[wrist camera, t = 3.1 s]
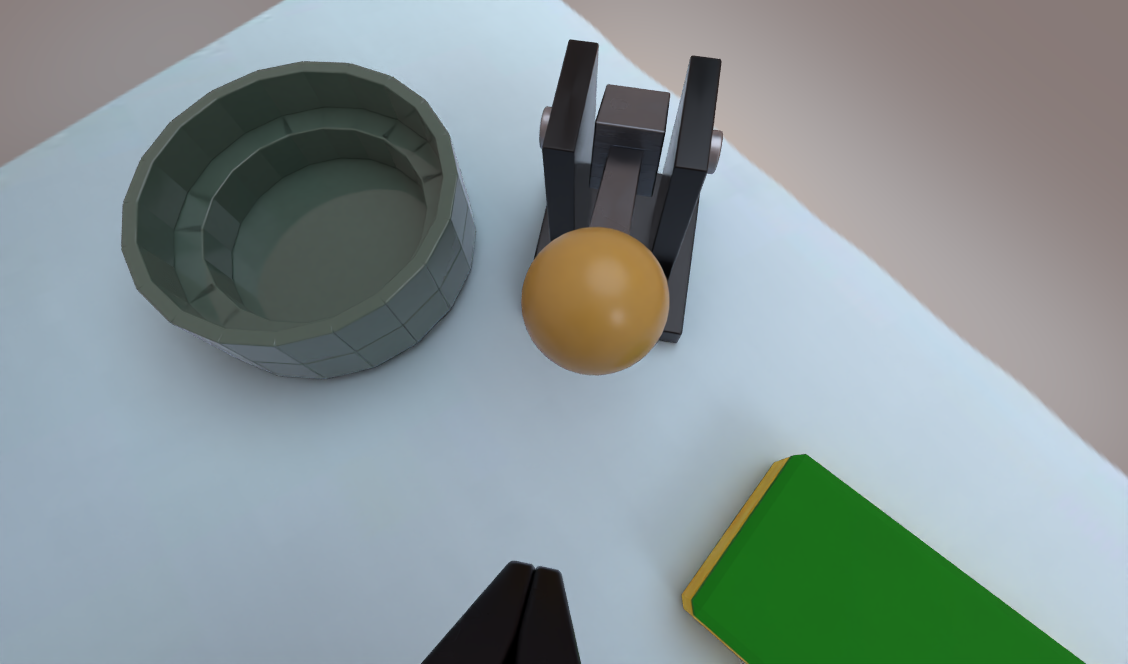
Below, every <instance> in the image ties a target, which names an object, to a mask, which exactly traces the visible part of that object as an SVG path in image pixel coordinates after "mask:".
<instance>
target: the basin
mask: <svg viewBox="0 0 1128 664" xmlns="http://www.w3.org/2000/svg"><path fill="white" fill-rule="evenodd" d="M123 203H124V204H123V211H122V239H121V247H122V248H121V250H122V252H123V255H124V257H125V260H126V263H127V265H128V268H129V271H130V273H131V276H132V278H133V281H134V284H135V286H136V289H137V290H138V291H139V292H140V293H141V294H142V295H143V296H144V297H145V298H146V299H147V300H148V301H149V302H150V303H151V304H152V305H153V306H154V307H155V308H156V309H157V310H158V311H159V312H160V313H161V314H162V315H163V316H164V317H165V318H166V319H167V320H168V321H169V322H170V323H171V324H173V325H174V326H176V327H178V328H180V329H182V330H184V331H186V332H188V333H190V334H192V335H193V336H195V337H197V338H199V339H201V340H203V341H205V342H207V343H209V344H211V345H212V346H214V347H216V348H218V349H220V350H222V351H224V352H226V353H228V354H229V355H231V356H233V357H235V358H237V359H239V360H241V361H244V362H246V363H248V364H251V365H253V366H256V367H258V368H260V369H263V370H265V371H267V372H270V373H272V374H275V375H279V376H286V377H302V378H318V379H325V378H326V379H329V378H333V377H337V376H341V375H345V374H349V373H354V372H358V371H362V370H366V369H370V368H373V367H377V366H378V365H380V364H382V363H384V362H385V361H387V360H389V359H391V358H393V357H394V356H396V355H398V354H400V353H401V352H403V351H405V350H407V349H408V348H410V347H412V346H414V345H415V344H417V342H419V341H420V340H421V339H422V338H423V337H424V336H425V335H426V334H427V333H428V332H429V331H430V330H431V329H432V328H433V327H434V326H435V325H436V323H437V322H438V321H439V320H440V319H441V318H442V317H443V316H444V315H445V314H446V313H447V312H448V311H449V310H450V309H451V308H452V306H453V304H454V302H455V300H456V298H457V296H458V294H459V292H460V290H461V288H462V286H463V284H464V282H465V280H466V278H467V276H468V274H469V272H470V270H471V264H472V257H473V250H474V243H475V236H476V227H475V223H474V218H473V214H472V209H471V205H470V200H469V196H468V192H467V189H466V186H465V183H464V180H463V176H462V173H461V170H460V167H459V163H458V160H457V157H456V154H455V151H454V147H453V144H452V141H451V138H450V135H449V133H448V131H447V130H446V129H445V127H444V126H443V124H442V123H441V121H440V120H439V118H438V117H437V115H436V114H435V112H434V111H433V110H432V108H431V107H430V105H429V104H428V102H427V101H426V100H425V99H424V98H422V97H421V96H419V95H418V94H417V93H415V92H414V91H412V90H411V89H409V88H408V87H407V86H405V85H404V84H402V83H401V82H399V81H398V80H397V79H395V78H394V77H391V76H390V75H386V74H383V73H380V72H377V71H374V70H371V69H367V68H364V67H361V66H358V65H355V64H350V63H336V62H310V61H305V62H303V61H302V62H297V63H292V64H287V65H282V66H277V67H272V68H267V69H262V70H257V71H255V72H252V73H250V74H248V75H246V76H243V77H241V78H239V79H237V80H234V81H232V82H230V83H228V84H225V85H223V86H221V87H219V88H217V89H214V90H212V91H211V92H209V93H208V94H206V95H205V96H204V97H202V98H201V99H200V100H198V101H197V102H196V103H194V104H193V105H192V106H190V107H189V108H188V109H186V110H185V111H184V112H183V113H181V114H180V115H179V116H177V117H176V118H175V119H173V120H172V122H170V123H169V124H168V125H167V126H166V128H165V129H164V130H163V132H162V133H161V134H160V135H159V137H158V138H157V139H156V140H155V142H154V143H153V144H152V145H151V147H150V148H149V149H148V150H147V152H146V153H145V154H144V155H143V157H142V158H141V160H140V162H139V164H138V167H137V169H136V172H135V174H134V177H133V179H132V182H131V184H130V186H129V189H128V191H127V194H126V196H125V199H124V201H123Z"/></svg>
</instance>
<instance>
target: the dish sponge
mask: <svg viewBox="0 0 1128 664" xmlns="http://www.w3.org/2000/svg"><path fill="white" fill-rule="evenodd" d="M682 601H683V608H684V610H686V611H687V612H688V613H689V614H690V615H691V616H692V617H694V618H695V619H696V620H697V621H698V622H699V623H700V624H702V625H703V626H704V627H705V628H706V629H707V630H708V631H710V632H711V633H712V634H713V635H714V636H715V637H716V638H717V639H719V640H720V641H721V642H722V643H723V644H724V645H725V646H727V647H728V648H729V649H730V650H731V651H732V652H733V653H735V654H736V655H737V656H738V657H739V658H740V659H741V660H743V661H744V662H745V663H746V664H1086V663H1084V662H1083V661H1082V660H1080V659H1079V658H1078V657H1076V656H1075V655H1074V654H1072V653H1071V652H1070V651H1068V650H1067V649H1066V648H1064V647H1063V646H1062V645H1060V644H1059V643H1058V642H1056V641H1055V640H1054V639H1052V638H1051V637H1050V636H1048V635H1047V634H1046V633H1044V632H1043V631H1041V630H1040V629H1039V628H1037V627H1036V626H1035V625H1033V624H1032V623H1031V622H1029V621H1028V620H1027V619H1025V618H1024V617H1023V616H1021V615H1020V614H1019V613H1017V612H1016V611H1015V610H1013V609H1012V608H1011V607H1009V606H1008V605H1007V604H1005V603H1004V602H1003V601H1001V600H1000V599H999V598H997V597H996V596H995V595H993V594H992V593H991V592H989V591H988V590H987V589H985V588H984V587H983V586H981V585H980V584H979V583H977V582H976V581H975V580H973V579H972V578H971V577H969V576H968V575H967V574H965V573H964V572H963V571H961V570H960V569H959V568H957V567H956V566H955V565H953V564H952V563H951V562H949V561H948V560H947V559H945V558H944V557H943V556H941V555H940V554H939V553H937V552H936V551H935V550H933V549H932V548H931V547H929V546H928V545H927V544H925V543H924V542H923V541H921V540H920V539H919V538H917V537H916V536H915V535H913V534H912V533H911V532H909V531H908V530H907V529H905V528H904V527H903V526H901V525H900V524H899V523H897V522H896V521H895V520H893V519H892V518H891V517H889V516H888V515H887V514H885V513H884V512H883V511H881V510H880V509H879V508H877V507H876V506H875V505H873V504H872V503H871V502H869V501H868V500H867V499H865V498H864V497H863V496H861V495H860V494H859V493H857V492H856V491H855V490H853V489H852V488H851V487H849V486H848V485H847V484H845V483H844V482H843V481H841V480H840V479H839V478H837V477H836V476H835V475H833V474H832V473H831V472H829V471H828V470H827V469H825V468H824V467H823V466H821V465H820V464H819V463H817V462H816V461H815V460H813V459H812V458H811V457H809V456H808V455H807V454H802V455H793V456H790V457H788V458H785V459H782V460H780V461H777V462H774V463H773V465H772V466H771V468H770V469H769V471H768V472H767V473H766V475H765V476H764V478H763V479H762V481H761V482H760V483H759V485H758V486H757V488H756V489H755V491H754V492H753V493H752V495H751V496H750V498H749V499H748V501H747V502H746V503H745V505H744V506H743V508H742V509H741V511H740V512H739V513H738V515H737V516H736V518H735V519H734V521H733V522H732V523H731V525H730V526H729V528H728V529H727V531H726V532H725V533H724V535H723V536H722V538H721V539H720V541H719V542H718V543H717V545H716V546H715V548H714V549H713V551H712V552H711V553H710V555H709V556H708V558H707V559H706V561H705V562H704V563H703V565H702V566H701V568H700V569H699V571H698V572H697V573H696V575H695V576H694V578H693V579H692V581H691V582H690V583H689V585H688V586H687V588H686V589H685V591H684V592H683V593H682Z"/></svg>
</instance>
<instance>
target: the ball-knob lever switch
mask: <svg viewBox="0 0 1128 664" xmlns="http://www.w3.org/2000/svg"><path fill="white" fill-rule="evenodd" d="M598 48H599V45H598V43H594V42H586V41H578V40H569V42H568V46H567V50H566V53H565V57H564V61H563V65H562V69H561V73H560V77H559V81H558V85H557V89H556V93H555V97H554V101H553V105H552V107H548V106H547V107H545V109H544V111H543V114H542V118H541V124H540V134H539V142H540V148H541V149H542V153H543V165H544V176H545V188H546V200H547V206H546V210H545V214H544V219H543V223H542V227H541V231H540V235H539V239H538V244H537V248H536V252H535V256H534V259H535V258H536V256H537V255H538V254H539V253H540V252H541V250H542V249H543V248H544V247H546V246H547V245H548V244H549V243H550V242H552V241H553V240H554V239H556V238H558V237H560V236H561V235H563V234H565V233H567V232H570V231H573V230H577V229H581V228H587V227H589V225H590V221H591V217H592V213H593V209H594V205H595V201H596V198H597V194H598V190H599V189H595V188H590V187H589V178H590V168H591V158H592V148H593V138H594V128H595V112H596V90H597V69H598ZM720 70H721V59H715V58H707V57H700V56H691V58H690V61H689V65H688V70H687V74H686V78H685V82H684V86H683V90H682V95H681V99H680V103H679V107H678V111H677V116H676V120H675V124H674V128H673V132H672V136H671V141H670V145H669V149H668V153H667V157H666V162H665V166H664V170H663V174H658V173H657V177H656V182H655V186H654V191H653V195H652V197H647V196H641V195H636V200H635V205H634V211H633V217H632V223H631V228H630V234H629V235H630V236H632V237H633V238H635V239H637V240H638V241H640V242H641V243H642V244H643V245H644V246H645V247H646V248H648V249H649V250H650V251H651V252H652V254H653V255H654V256H655V258H656V259H657V261H658V262H659V264H660V266H661V267H662V270H663V272H664V275H665V277H666V280H667V284H668V290H669V312H668V317H667V322H666V324H665V327H664V330H663V332H662V335H661V336H660V338H659V339H658V340H662V341H668V342H673V343H677V342H678V340H679V338H680V336H681V334H682V329H683V321H684V314H685V306H686V298H687V290H688V283H689V275H690V267H691V259H692V252H693V244H694V236H695V228H696V220H697V213H698V205H699V197H700V191H701V189H702V186H703V183H704V180H705V178H706V175H707V174H713V173H714V172H715V170H716V167H717V164H718V160H719V156H720V152H721V147H722V140H723V133H722V131H718V130H713V126H714V118H715V110H716V102H717V94H718V86H719V77H720ZM533 261H534V260H533Z"/></svg>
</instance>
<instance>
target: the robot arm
mask: <svg viewBox="0 0 1128 664" xmlns="http://www.w3.org/2000/svg"><path fill="white" fill-rule="evenodd" d="M421 664H581V661H580V657H579V652H578V648H577V643H576V638H575V634H574V629H573V624H572V620H571V615H570V611H569V606H568V601H567V597H566V592H565V587H564V583H563V578H562V574H561V572H560V571H559V570H556V569H552V568H547V567H542V566H538V567H537V568H536V569H535V567H534V566H533V565H532V564H528V563H523V562H519V561H511V562H509V563H508V564H507V565H506V566H505V567H504V569H503V570H502V571H501V572H500V573H499V574H498V575H497V577H496V578H495V579H494V580H493V581H492V582H491V584H490V585H489V586H488V587H487V588H486V589H485V590H484V592H483V593H482V594H481V595H480V596H479V597H478V599H477V600H476V601H475V602H474V603H473V604H472V605H471V607H470V608H469V609H468V610H467V611H466V612H465V614H464V615H463V616H462V617H461V618H460V619H459V620H458V622H457V623H456V624H455V625H454V626H453V627H452V628H451V630H450V631H449V632H448V633H447V634H446V635H445V637H444V638H443V639H442V640H441V641H440V642H439V643H438V645H437V646H436V647H435V648H434V649H433V650H432V652H431V653H430V654H429V655H428V656H427V657H426V658H425V660H424V661H423V662H422V663H421Z"/></svg>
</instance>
